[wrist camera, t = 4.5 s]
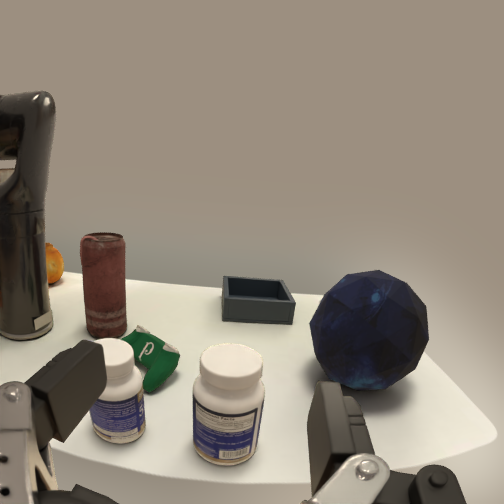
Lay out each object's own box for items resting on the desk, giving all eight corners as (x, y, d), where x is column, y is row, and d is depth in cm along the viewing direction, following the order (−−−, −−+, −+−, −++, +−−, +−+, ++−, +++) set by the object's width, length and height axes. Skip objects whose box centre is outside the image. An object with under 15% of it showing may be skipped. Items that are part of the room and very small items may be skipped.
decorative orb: (328, 395, 26) (431, 266, 26) (267, 324, 40) (343, 233, 40) (388, 428, 32) (465, 333, 32) (328, 368, 45) (391, 293, 46)
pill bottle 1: (154, 438, 25) (150, 365, 22) (100, 449, 21) (84, 375, 19) (135, 402, 29) (130, 330, 26) (87, 410, 26) (74, 336, 23)
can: (79, 326, 42) (73, 233, 38) (115, 318, 47) (113, 229, 43) (96, 344, 38) (89, 242, 35) (134, 333, 43) (133, 237, 40)
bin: (222, 320, 51) (224, 298, 50) (221, 295, 62) (223, 275, 62) (292, 324, 53) (296, 302, 52) (280, 298, 64) (282, 280, 63)
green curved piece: (165, 401, 32) (192, 358, 35) (145, 391, 30) (174, 345, 32) (120, 365, 38) (144, 329, 40) (101, 353, 35) (127, 315, 37)
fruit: (39, 278, 48) (56, 240, 52) (13, 269, 50) (30, 234, 53) (61, 295, 56) (75, 260, 59) (35, 286, 57) (49, 254, 60)
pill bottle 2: (213, 417, 29) (219, 332, 27) (266, 438, 26) (282, 353, 24) (180, 449, 24) (177, 360, 21) (237, 477, 21) (250, 390, 19)
